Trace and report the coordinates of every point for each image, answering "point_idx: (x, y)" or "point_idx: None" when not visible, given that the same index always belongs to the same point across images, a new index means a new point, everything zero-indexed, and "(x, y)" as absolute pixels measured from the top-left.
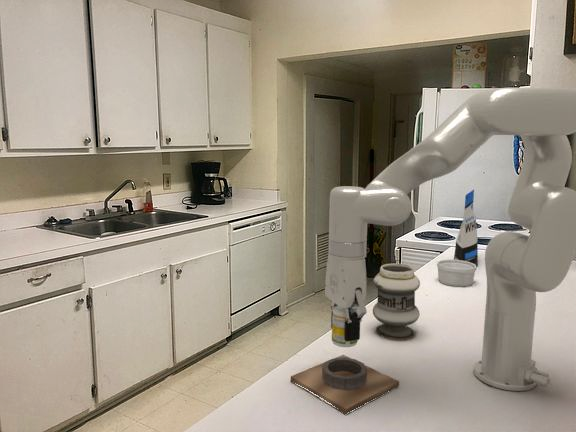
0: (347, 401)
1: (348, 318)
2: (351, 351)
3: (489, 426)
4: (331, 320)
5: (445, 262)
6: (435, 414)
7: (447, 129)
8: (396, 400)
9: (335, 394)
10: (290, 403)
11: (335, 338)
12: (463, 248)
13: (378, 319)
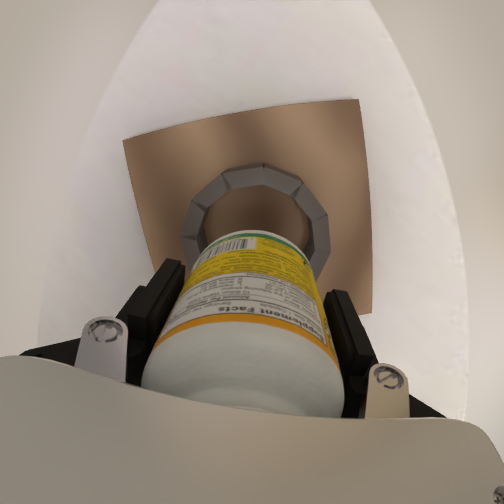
0: (149, 164)
1: (92, 338)
2: (382, 344)
3: (39, 341)
4: (354, 315)
5: None
6: (74, 307)
7: None
8: (134, 284)
9: (193, 153)
10: (248, 38)
11: (239, 240)
12: None
13: None
